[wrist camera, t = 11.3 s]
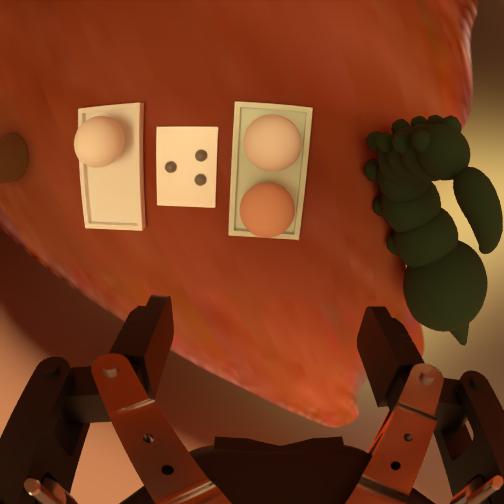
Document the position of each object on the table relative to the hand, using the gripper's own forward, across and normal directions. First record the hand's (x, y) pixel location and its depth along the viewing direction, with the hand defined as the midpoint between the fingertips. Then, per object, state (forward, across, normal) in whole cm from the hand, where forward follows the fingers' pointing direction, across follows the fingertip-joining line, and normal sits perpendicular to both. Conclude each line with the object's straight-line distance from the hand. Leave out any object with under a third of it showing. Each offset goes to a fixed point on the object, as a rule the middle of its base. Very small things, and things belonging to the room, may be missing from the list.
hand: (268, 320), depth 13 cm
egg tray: (+20, +15, -2) cm, 26 cm away
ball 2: (+20, -1, -5) cm, 20 cm away
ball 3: (+20, -1, +1) cm, 20 cm away
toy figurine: (+20, -17, +2) cm, 26 cm away
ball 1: (+20, +15, -5) cm, 26 cm away
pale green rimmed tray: (+20, -1, -2) cm, 20 cm away
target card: (+20, +7, -2) cm, 22 cm away
